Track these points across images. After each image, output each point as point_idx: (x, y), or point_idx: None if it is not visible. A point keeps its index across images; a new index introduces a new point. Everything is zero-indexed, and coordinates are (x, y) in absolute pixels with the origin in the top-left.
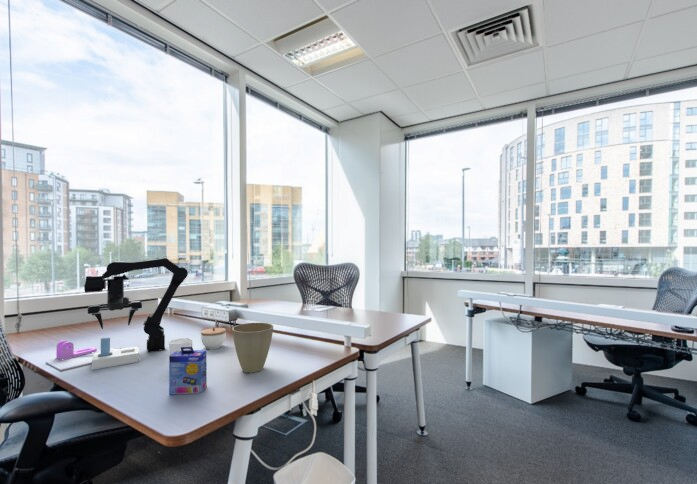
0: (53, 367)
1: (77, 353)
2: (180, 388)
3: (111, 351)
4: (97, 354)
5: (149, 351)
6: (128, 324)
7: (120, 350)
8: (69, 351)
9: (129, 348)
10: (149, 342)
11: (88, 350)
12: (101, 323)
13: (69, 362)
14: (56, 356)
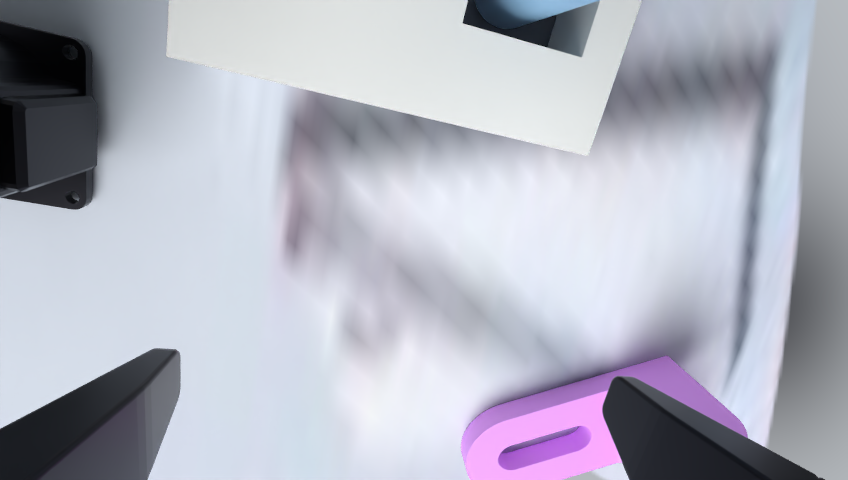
0: (758, 213)
1: (594, 396)
2: None
3: (461, 66)
4: (589, 56)
5: (76, 39)
6: (165, 357)
7: (378, 23)
8: None
9: (276, 35)
10: (3, 85)
11: (523, 427)
12: (724, 442)
13: (661, 263)
14: None
